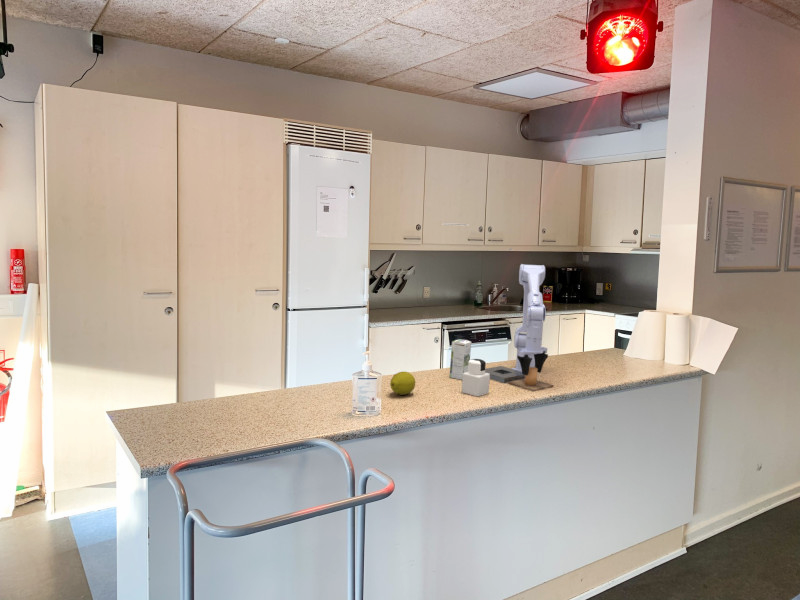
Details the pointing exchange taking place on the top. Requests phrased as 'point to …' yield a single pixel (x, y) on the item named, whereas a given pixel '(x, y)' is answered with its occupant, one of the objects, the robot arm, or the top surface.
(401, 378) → the lemon
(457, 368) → the syrup box
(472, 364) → the medicine bottle
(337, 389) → the top surface
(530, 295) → the robot arm
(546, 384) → the walnut board
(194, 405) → the top surface
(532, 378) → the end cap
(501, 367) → the socket block
